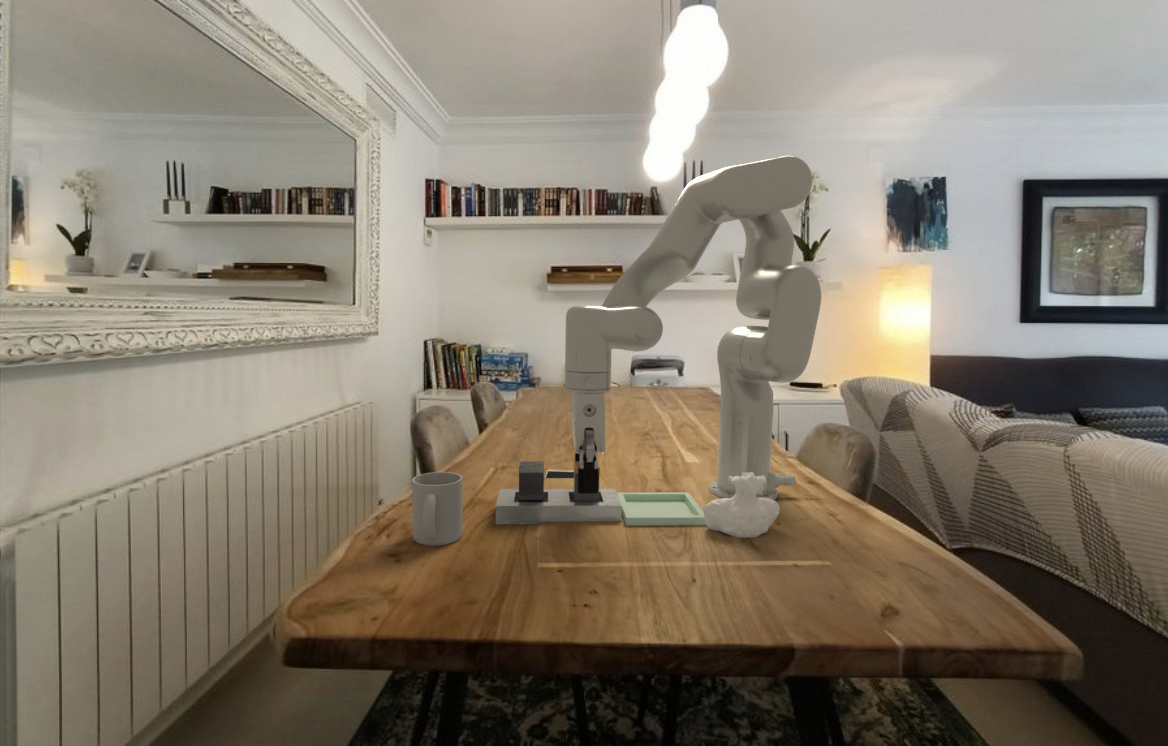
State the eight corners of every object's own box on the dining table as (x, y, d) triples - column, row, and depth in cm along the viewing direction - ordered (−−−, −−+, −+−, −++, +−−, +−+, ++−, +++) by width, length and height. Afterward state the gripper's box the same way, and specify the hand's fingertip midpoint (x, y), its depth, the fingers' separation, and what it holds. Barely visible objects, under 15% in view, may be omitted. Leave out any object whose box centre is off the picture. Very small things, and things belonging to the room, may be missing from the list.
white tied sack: (704, 550, 90) (721, 508, 82) (693, 507, 96) (709, 465, 88) (779, 548, 91) (803, 507, 84) (765, 506, 97) (786, 464, 89)
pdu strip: (614, 505, 104) (616, 458, 103) (621, 523, 95) (622, 471, 94) (500, 505, 102) (500, 457, 101) (495, 524, 93) (495, 471, 92)
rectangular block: (596, 507, 101) (597, 461, 100) (598, 515, 97) (599, 467, 96) (572, 507, 101) (573, 461, 100) (573, 515, 96) (574, 467, 96)
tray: (688, 501, 106) (688, 492, 106) (707, 527, 94) (708, 517, 93) (616, 501, 106) (616, 492, 105) (626, 528, 93) (626, 517, 92)
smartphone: (539, 495, 110) (539, 490, 110) (547, 473, 125) (547, 468, 125) (577, 496, 110) (577, 491, 110) (581, 474, 125) (581, 469, 125)
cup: (466, 528, 91) (466, 472, 91) (454, 554, 82) (453, 491, 81) (419, 528, 91) (419, 471, 90) (401, 554, 81) (400, 491, 80)
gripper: (616, 388, 88) (614, 500, 90) (605, 376, 105) (603, 470, 107) (566, 388, 88) (564, 500, 89) (563, 375, 105) (561, 470, 107)
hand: (585, 484), depth 98 cm, fingers open, 9 cm apart
